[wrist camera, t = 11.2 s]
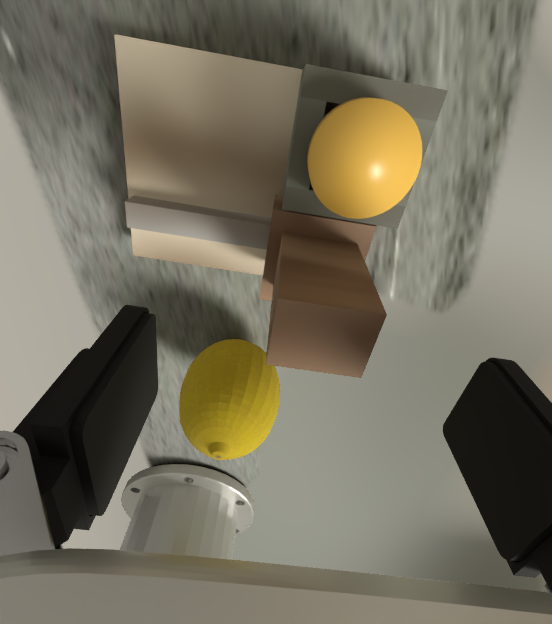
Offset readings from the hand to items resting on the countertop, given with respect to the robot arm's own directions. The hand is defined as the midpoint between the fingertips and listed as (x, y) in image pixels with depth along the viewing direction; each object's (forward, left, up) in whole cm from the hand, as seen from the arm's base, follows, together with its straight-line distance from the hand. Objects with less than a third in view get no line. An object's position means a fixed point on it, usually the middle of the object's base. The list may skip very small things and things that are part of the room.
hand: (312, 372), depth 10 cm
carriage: (+1, 0, -8) cm, 8 cm away
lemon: (-8, +3, -10) cm, 13 cm away
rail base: (+3, +3, -10) cm, 11 cm away
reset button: (+5, -1, -8) cm, 10 cm away
